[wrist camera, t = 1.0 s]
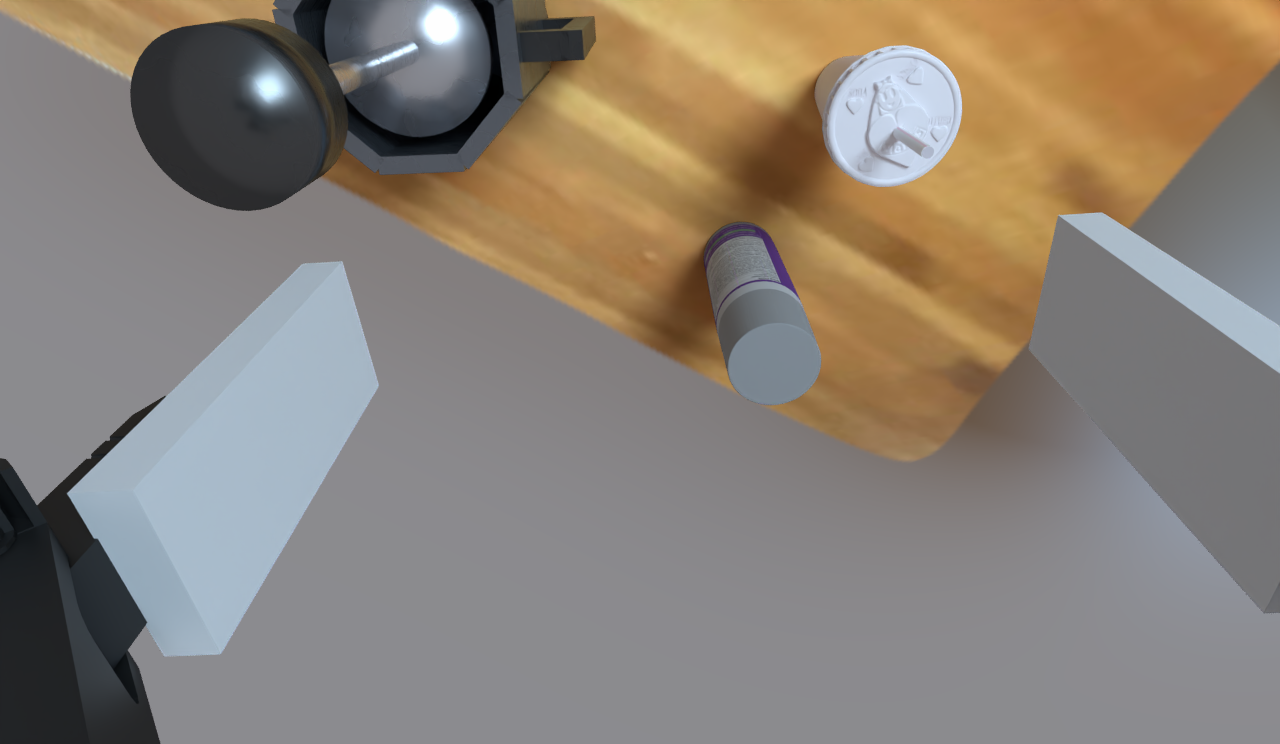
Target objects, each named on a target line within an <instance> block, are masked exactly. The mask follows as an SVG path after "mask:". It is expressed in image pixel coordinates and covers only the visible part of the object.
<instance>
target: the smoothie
mask: <svg viewBox="0 0 1280 744" xmlns="http://www.w3.org/2000/svg"><path fill="white" fill-rule="evenodd" d="M815 101H816V105H817V107H818V110H819V112H820V115H821V118H822V120H823V123H822V132H823V137H824V142H825V146H826V148H827V150H828V152H829V154H830V156H831V158H832V160H833V162H834V163H835V164H836V165H837V166H838V167H839V168H840V169H841V170H842V171H843V172H844V173H846V174H848V175H849V176H851V177H852V178H854V179H855V180H857V181H859V182H861V183H864V184H867V185H871V186H878V187H890V186H897V185H901V184H905V183H908V182H910V181H913V180H915V179H917V178H919V177H920V176H922V175H924V174H925V173H927V172H928V171H929V170H931V169H932V168H933V167H934V166H935V165H936V164H937V163H938V162H939V161H940V160H941V159H942V158H943V157H944V155H945V154H946V153H947V151H948V150H949V148H950V147H951V145H952V143H953V141H954V139H955V137H956V134H957V132H958V129H959V125H960V121H961V114H962V100H961V94H960V89H959V86H958V83H957V81H956V79H955V77H954V75H953V74H952V72H951V71H950V70H949V68H948V67H947V66H946V65H945V64H944V63H943V62H942V61H940V60H939V59H938V58H936V57H934V56H933V55H931V54H929V53H928V52H926V51H924V50H923V49H919V48H914V47H910V46H906V45H904V46H887V47H884V48H881V49H878V50H875V51H872V52H869V53H868V54H866V55H858V56H846V57H842V58H839V59H836V60H834V61H833V62H831V63H830V64H829V65H828V66H826V67H825V69H824V70H823V71H822V72H821V74H820V76H819V78H818V80H817V82H816V86H815Z"/></svg>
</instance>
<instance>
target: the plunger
mask: <svg viewBox="0 0 1280 744" xmlns="http://www.w3.org/2000/svg"><path fill="white" fill-rule="evenodd" d="M324 35H325V48H326V54H327V59H328V62H329V65H328V63H327V62H326V60H325V59H324V58H323V57H322V56H321V55H320V53H319V52H318V51H317V50H316V49H315V48H314V47H313V46H311V45H310V44H309V43H308V42H307V41H306V40H304V39H303V38H302V37H300V36H299V35H297V34H296V33H294V32H292V31H290V30H289V29H287V28H285V27H282V26H280V25H278V24H275V23H272V22H268V21H265V20H259V19H235V20H228V21H221V22H214V23H207V24H200V25H193V26H186V27H181V28H177V29H174V30H171V31H169V32H167V33H165V34H163V35H161V36H160V37H158V38H157V39H155V40H154V41H153V42H152V43H151V44H150V45H149V46H148V47H147V48H146V49H145V50H144V52H143V53H142V55H141V56H140V58H139V60H138V62H137V64H136V66H135V69H134V72H133V76H132V81H131V92H130V93H131V107H132V113H133V117H134V121H135V124H136V128H137V130H138V132H139V135H140V137H141V139H142V141H143V143H144V145H145V147H146V149H147V150H148V152H149V153H150V155H151V156H152V158H153V159H154V161H155V162H156V163H157V164H158V166H159V167H160V168H161V169H162V170H163V171H164V172H165V173H166V174H167V175H168V176H169V177H170V178H171V179H172V180H173V181H174V182H176V183H177V184H178V185H179V186H180V187H182V188H183V189H184V190H186V191H188V192H189V193H190V194H192V195H194V196H195V197H197V198H199V199H201V200H203V201H205V202H208V203H210V204H213V205H216V206H219V207H223V208H226V209H232V210H242V211H244V210H245V211H251V210H261V209H264V208H268V207H272V206H274V205H276V204H279V203H281V202H283V201H284V200H286V199H287V198H289V197H291V196H292V195H293V194H295V193H297V192H298V191H300V190H301V189H302V188H304V187H306V186H307V185H308V184H310V183H311V182H313V181H315V180H316V179H318V178H319V177H321V176H322V175H324V174H325V173H326V172H327V171H328V170H329V169H330V168H331V167H332V166H333V165H334V164H335V163H336V161H337V160H338V158H339V156H340V155H341V153H342V150H343V148H344V145H345V141H346V137H347V131H348V112H347V106H346V101H345V98H344V95H345V96H346V98H347V99H348V100H349V101H350V103H351V104H352V105H353V106H354V107H355V108H356V109H357V110H358V111H359V112H360V113H361V114H362V115H363V116H365V117H366V118H368V119H369V120H370V121H372V122H373V123H375V124H377V125H378V126H380V127H382V128H384V129H386V130H389V131H391V132H394V133H398V134H401V135H406V136H413V137H425V136H433V135H437V134H441V133H444V132H446V131H449V130H451V129H453V128H455V127H456V126H458V125H460V124H461V123H462V122H463V121H465V120H466V119H467V118H468V117H469V116H470V115H471V114H472V113H473V112H474V111H475V110H476V109H477V108H478V106H479V105H480V103H481V102H482V100H483V99H484V97H485V95H486V93H487V91H488V88H489V85H490V82H491V78H492V72H493V61H494V56H493V45H492V39H491V34H490V31H489V28H488V25H487V22H486V20H485V18H484V15H483V13H482V11H481V10H480V8H479V6H478V5H477V3H476V1H475V0H331V3H330V5H329V8H328V11H327V16H326V21H325V31H324Z"/></svg>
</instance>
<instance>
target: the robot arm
mask: <svg viewBox="0 0 1280 744" xmlns="http://www.w3.org/2000/svg"><path fill="white" fill-rule="evenodd" d="M1029 350H1030V351H1031V352H1032V354H1033V355H1034V356H1035V357H1036V358H1037V359H1038V360H1039V361H1040V362H1041V364H1042V365H1043V366H1044V367H1045V368H1046V369H1047V370H1048V372H1049V373H1050V374H1051V375H1052V376H1053V377H1054V378H1055V379H1056V381H1057V382H1058V383H1059V384H1060V385H1061V386H1062V387H1063V388H1064V390H1065V391H1066V392H1067V393H1068V394H1069V395H1070V396H1071V397H1072V399H1073V400H1074V401H1075V402H1076V403H1077V404H1078V405H1079V406H1080V408H1081V409H1082V410H1083V411H1084V412H1085V413H1086V414H1087V415H1088V417H1089V418H1090V419H1091V420H1092V421H1093V422H1094V423H1095V424H1096V426H1097V427H1098V428H1099V429H1100V430H1101V431H1102V432H1103V433H1104V435H1105V436H1106V437H1107V438H1108V439H1109V440H1110V441H1111V442H1112V444H1113V445H1114V446H1115V447H1116V448H1117V449H1118V450H1119V451H1120V452H1121V454H1122V455H1123V456H1124V457H1125V458H1126V459H1127V460H1128V462H1129V463H1130V464H1131V465H1132V466H1133V467H1134V468H1135V469H1136V471H1137V472H1138V473H1139V474H1140V475H1141V476H1142V477H1143V478H1144V480H1145V481H1146V482H1147V483H1148V484H1149V485H1150V486H1151V487H1152V489H1153V490H1154V491H1155V492H1156V493H1157V494H1158V495H1159V496H1160V498H1161V499H1162V500H1163V501H1164V502H1165V503H1166V504H1167V505H1168V507H1169V508H1170V509H1171V510H1172V511H1173V512H1174V513H1175V514H1176V515H1177V517H1178V518H1179V519H1180V520H1181V521H1182V522H1183V523H1184V524H1185V526H1186V527H1187V528H1188V529H1189V530H1190V531H1191V532H1192V534H1193V535H1194V536H1195V537H1196V538H1197V539H1198V540H1199V541H1200V542H1201V543H1202V545H1203V546H1204V547H1205V548H1206V549H1207V550H1208V552H1209V553H1211V555H1212V556H1213V557H1214V558H1215V559H1216V560H1217V562H1218V563H1219V564H1220V565H1221V566H1222V567H1223V568H1224V569H1225V571H1226V572H1227V573H1228V574H1229V575H1230V576H1231V577H1232V578H1233V580H1234V581H1235V582H1236V583H1237V584H1238V585H1239V586H1240V587H1241V589H1242V590H1243V591H1244V592H1245V593H1246V594H1247V595H1248V596H1249V597H1250V599H1251V600H1252V601H1253V602H1254V603H1255V604H1256V605H1257V607H1258V608H1259V609H1260V610H1261V611H1262V612H1263V613H1280V326H1279V325H1277V324H1276V323H1274V322H1273V321H1271V320H1270V319H1268V318H1266V317H1265V316H1263V315H1262V314H1260V313H1258V312H1257V311H1255V310H1254V309H1252V308H1251V307H1249V306H1248V305H1246V304H1245V303H1243V302H1241V301H1240V300H1238V299H1236V298H1235V297H1233V296H1232V295H1230V294H1229V293H1227V292H1226V291H1224V290H1222V289H1221V288H1219V287H1218V286H1216V285H1215V284H1213V283H1211V282H1210V281H1208V280H1207V279H1205V278H1204V277H1202V276H1201V275H1199V274H1198V273H1196V272H1194V271H1193V270H1191V269H1190V268H1188V267H1187V266H1185V265H1183V264H1182V263H1180V262H1179V261H1177V260H1176V259H1174V258H1172V257H1171V256H1169V255H1168V254H1166V253H1165V252H1163V251H1162V250H1160V249H1158V248H1157V247H1155V246H1153V245H1152V244H1150V243H1149V242H1147V241H1146V240H1144V239H1143V238H1141V237H1140V236H1138V235H1136V234H1135V233H1133V232H1132V231H1130V230H1129V229H1127V228H1126V227H1124V226H1122V225H1121V224H1119V223H1118V222H1116V221H1115V220H1113V219H1111V218H1110V217H1108V216H1107V215H1105V214H1104V213H1087V214H1071V215H1058V219H1057V223H1056V228H1055V232H1054V237H1053V241H1052V246H1051V250H1050V255H1049V260H1048V264H1047V269H1046V273H1045V278H1044V282H1043V287H1042V291H1041V296H1040V301H1039V305H1038V310H1037V314H1036V319H1035V323H1034V328H1033V332H1032V337H1031V341H1030V346H1029ZM378 386H379V384H378V381H377V378H376V374H375V371H374V367H373V364H372V361H371V357H370V354H369V351H368V347H367V344H366V341H365V337H364V333H363V330H362V327H361V323H360V320H359V317H358V313H357V310H356V307H355V303H354V300H353V296H352V293H351V289H350V286H349V282H348V279H347V276H346V272H345V269H344V265H343V262H342V261H340V262H323V263H307V264H302V265H301V266H300V267H299V268H298V269H297V270H296V271H295V272H294V273H292V275H290V276H289V277H288V278H287V279H286V280H285V281H284V282H283V283H282V284H281V285H280V286H279V287H278V288H277V289H276V290H275V291H274V292H273V293H272V294H271V295H270V296H269V297H268V298H267V299H266V300H265V301H264V302H263V303H262V304H261V305H260V306H259V307H258V308H257V309H256V310H255V311H254V312H253V313H251V314H250V315H249V316H248V317H247V318H246V319H245V321H244V322H242V323H241V324H240V325H239V326H238V327H237V328H236V329H235V330H234V331H233V332H232V333H231V334H230V335H229V336H228V337H227V338H226V339H225V340H224V341H223V342H222V343H221V344H220V345H219V346H218V347H217V348H216V349H215V350H214V351H213V352H211V354H210V355H208V356H207V357H206V358H205V359H204V360H203V361H202V362H201V363H200V364H199V365H198V366H197V367H196V368H195V369H194V370H193V371H192V372H191V373H190V374H189V375H188V376H187V377H186V378H185V379H184V380H183V381H182V382H181V383H180V384H179V385H178V386H177V387H176V388H175V389H174V390H173V391H171V393H169V395H167V396H164V397H162V398H161V399H159V400H157V401H156V402H154V403H152V404H151V405H149V406H147V407H145V408H144V409H142V410H141V411H139V412H137V413H135V414H134V415H132V416H131V417H130V418H129V419H128V420H127V421H126V422H125V423H124V424H123V425H122V426H121V427H120V428H118V429H117V430H116V431H115V432H114V433H113V434H112V435H111V436H110V441H105V442H104V443H103V444H102V445H100V446H99V448H97V449H96V450H95V451H94V452H93V453H92V454H91V456H92V457H91V459H86V460H85V461H84V462H83V463H81V465H79V466H78V467H77V468H76V469H75V470H74V471H73V472H72V473H71V474H70V475H69V476H68V477H67V478H66V479H65V480H64V481H63V482H61V483H60V484H59V485H58V486H57V487H56V488H55V489H54V490H53V491H52V492H51V493H50V494H49V495H48V496H47V497H46V498H45V499H43V500H42V502H40V503H39V504H38V505H36V504H35V502H34V500H33V499H32V497H31V496H30V494H29V492H28V491H27V489H26V488H25V486H24V485H23V483H22V481H21V480H20V478H19V476H18V475H17V473H16V472H15V470H14V469H13V467H12V466H11V465H10V463H9V462H8V461H7V460H6V459H1V458H0V744H160V740H159V738H158V734H157V730H156V726H155V723H154V720H153V716H152V713H151V709H150V705H149V702H148V699H147V695H146V692H145V688H144V684H143V681H142V677H141V674H140V670H139V668H138V666H137V664H136V663H135V661H134V660H133V658H132V656H131V655H130V653H129V652H128V649H129V647H130V646H131V645H132V643H133V642H134V640H135V639H136V638H137V636H138V635H139V633H140V632H141V631H142V629H143V628H144V626H145V625H146V627H147V628H148V630H149V632H150V633H151V635H152V636H153V639H154V640H155V642H156V644H157V645H158V647H159V649H160V650H161V652H162V654H163V655H164V656H188V655H212V654H221V653H222V651H223V650H224V648H225V646H226V645H227V643H228V641H229V640H230V638H231V636H232V634H233V633H234V631H235V629H236V628H237V626H238V624H239V623H240V621H241V619H242V617H243V616H244V614H245V612H246V611H247V609H248V607H249V606H250V604H251V602H252V600H253V599H254V597H255V595H256V594H257V592H258V590H259V589H260V587H261V585H262V584H263V582H264V580H265V578H266V577H267V575H268V573H269V572H270V570H271V568H272V566H273V565H274V563H275V561H276V560H277V558H278V556H279V555H280V553H281V551H282V550H283V548H284V546H285V544H286V543H287V541H288V539H289V538H290V536H291V534H292V532H293V531H294V529H295V527H296V526H297V524H298V522H299V520H300V519H301V517H302V516H303V514H304V512H305V510H306V509H307V507H308V505H309V504H310V502H311V500H312V498H313V497H314V495H315V493H316V492H317V490H318V488H319V487H320V485H321V483H322V482H323V480H324V478H325V476H326V475H327V473H328V471H329V470H330V468H331V466H332V465H333V463H334V461H335V460H336V458H337V456H338V454H339V453H340V451H341V449H342V448H343V446H344V444H345V443H346V441H347V439H348V437H349V436H350V434H351V432H352V431H353V429H354V427H355V426H356V424H357V422H358V420H359V419H360V417H361V415H362V414H363V412H364V410H365V409H366V407H367V405H368V403H369V402H370V400H371V398H372V397H373V395H374V393H375V392H376V390H377V388H378Z"/></svg>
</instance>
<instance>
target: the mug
mask: <svg viewBox="0 0 1280 744" xmlns="http://www.w3.org/2000/svg"><path fill="white" fill-rule="evenodd" d="M475 1H476V3H477V5H478V6H479V8H480V10H481V11H482V13H483V15H484V18H485V20H486V22H487V25H488V28H489V31H490V34H491V39H492V45H493V56H494V61H493V72H492V78H491V82H490V85H489V88H488V91H487V93H486V95H485V97H484V99H483V100H482V102H481V103H480V105H479V106H478V108H477V109H476V110H475V111H474V112H473V113H472V114H471V115H470V116H469V117H468V118H467V119H466V120H465V121H463V122H462V123H461V124H460V125H458V126H456V127H455V128H453V129H451V130H449V131H446V132H444V133H441V134H437V135H433V136H425V137H413V136H406V135H401V134H398V133H394V132H391V131H389V130H386V129H384V128H382V127H380V126H378V125H377V124H375V123H373V122H372V121H370V120H369V119H368V118H366V117H365V116H363V115H362V114H361V113H360V112H359V111H358V110H357V109H356V108H355V107H354V106H353V105H352V104H351V103H350V101H349V100H348V99H347V98H346V96H345V95H344V98H345V101H346V106H347V112H348V131H347V137H346V141H345V145H344V149H346V150H347V151H348V152H349V153H351V154H352V155H353V156H354V157H356V158H357V159H358V160H359V161H361V162H362V163H363V164H364V165H366V166H367V167H368V168H369V169H371V170H372V171H373V172H374V173H376V172H377V171H378V170H379V173H380V175H388V174H413V173H438V172H463V171H465V170H466V169H467V168H468V169H469V168H470V167H471V166H472V165H473V163H474V162H475V161H476V160H477V159H478V158H479V156H480V155H481V154H482V153H483V152H484V150H485V149H486V148H487V147H488V146H489V145H490V143H491V142H492V141H493V140H494V139H495V138H496V136H497V135H498V134H499V133H500V132H501V130H502V129H503V128H504V127H505V126H506V125H507V123H508V122H509V121H510V120H511V118H512V117H513V116H514V115H515V113H516V112H517V111H518V110H519V109H520V107H521V106H522V105H523V104H524V102H525V101H526V100H527V99H528V97H529V96H530V95H531V94H532V92H533V91H534V90H535V89H536V87H537V86H538V85H539V84H540V82H541V81H542V80H543V79H544V78H545V76H546V75H547V74H548V73H549V69H550V68H551V63H550V61H567V60H584V59H585V58H586V56H587V54H588V53H589V51H590V49H591V48H592V46H593V45H594V43H595V41H596V33H595V18H594V16H589V17H567V18H548V15H547V11H546V8H545V0H475ZM330 3H331V0H275V2H274V3H273V5H275V6H276V7H277V8H278V9H274V10H272V11H273V15H274V19H275V23H276V24H278V25H280V26H282V27H285V28H287V29H289V30H290V31H292V32H294V33H296V34H297V35H299V36H300V37H302V38H303V39H304V40H306V41H307V42H308V43H309V44H310V45H311V46H313V47H314V48H315V49H316V50H317V51H318V52H319V53H320V55H321V56H322V57H323V58H324V59H325V60H326V62H327V63H328V65H329V62H328V59H327V54H326V48H325V35H324V31H325V21H326V16H327V11H328V8H329V5H330Z"/></svg>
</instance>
